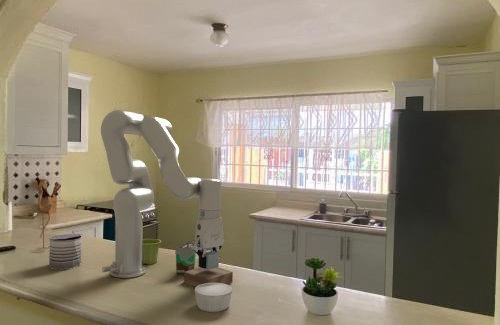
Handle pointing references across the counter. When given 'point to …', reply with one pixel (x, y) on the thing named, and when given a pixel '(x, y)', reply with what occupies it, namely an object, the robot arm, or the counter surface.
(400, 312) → the counter surface
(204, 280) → the walnut block
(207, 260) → the slate block
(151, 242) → the plant pot
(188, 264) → the food container
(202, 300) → the ramekin
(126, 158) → the robot arm
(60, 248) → the can
